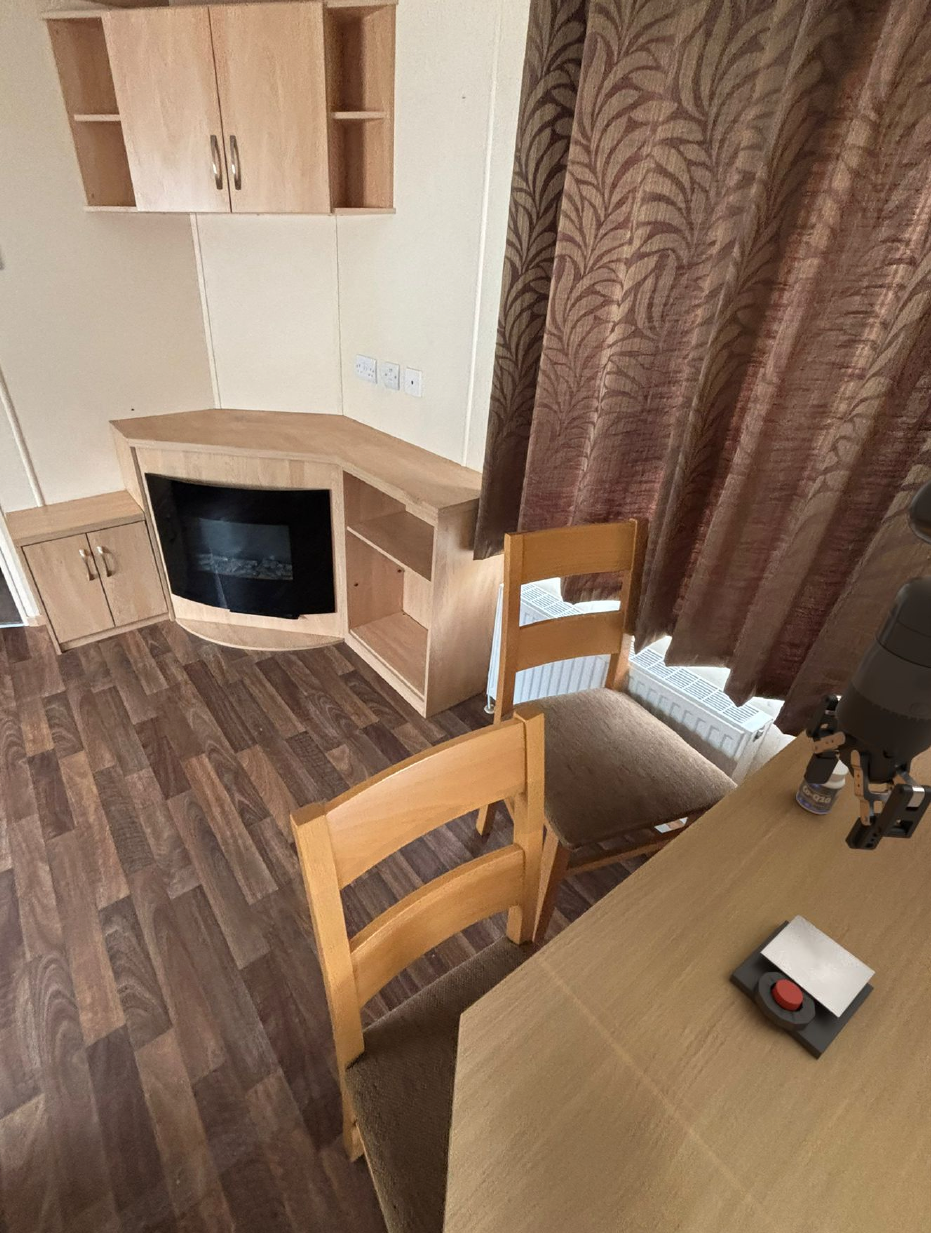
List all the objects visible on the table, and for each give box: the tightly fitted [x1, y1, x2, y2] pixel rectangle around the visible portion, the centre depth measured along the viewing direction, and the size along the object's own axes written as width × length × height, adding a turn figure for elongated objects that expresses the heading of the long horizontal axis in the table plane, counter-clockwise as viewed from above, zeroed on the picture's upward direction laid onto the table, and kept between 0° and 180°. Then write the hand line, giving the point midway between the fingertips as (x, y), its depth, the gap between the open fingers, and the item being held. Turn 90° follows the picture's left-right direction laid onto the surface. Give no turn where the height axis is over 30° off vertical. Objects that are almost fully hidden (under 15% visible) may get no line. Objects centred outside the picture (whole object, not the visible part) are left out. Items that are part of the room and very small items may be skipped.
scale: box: [729, 920, 875, 1060], centre depth 70 cm, size 13×10×3 cm
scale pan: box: [760, 913, 876, 1019], centre depth 71 cm, size 9×9×1 cm
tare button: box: [772, 980, 803, 1011], centre depth 68 cm, size 3×3×1 cm
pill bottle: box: [795, 759, 849, 815], centre depth 93 cm, size 5×5×8 cm
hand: (834, 811), depth 63 cm, fingers open, 8 cm apart
